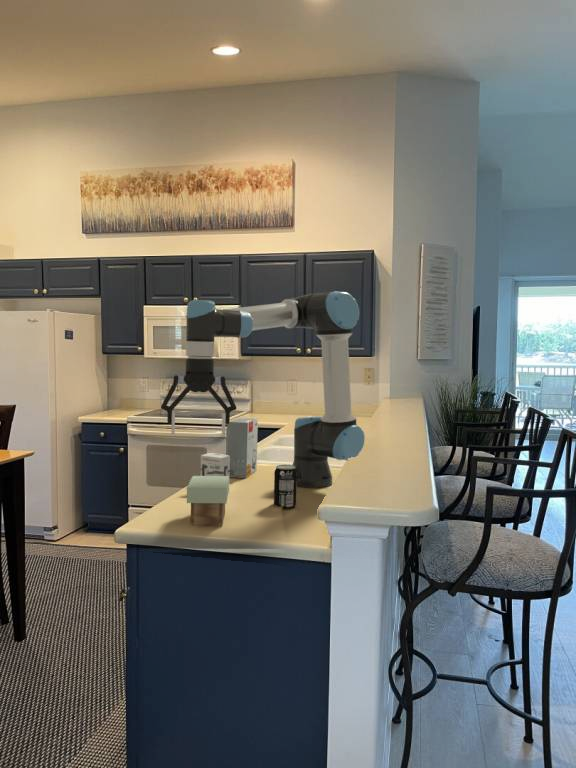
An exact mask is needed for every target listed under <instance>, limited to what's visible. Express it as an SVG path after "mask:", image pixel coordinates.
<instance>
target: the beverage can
mask: <svg viewBox="0 0 576 768" xmlns="http://www.w3.org/2000/svg"><path fill="white" fill-rule="evenodd" d="M295 468H296V467H295V466H293V464H278V465H276V466H275V470H274V473H273V474H274V477H273V478H274V481H273V483H274V485H273V486H274V487H273V506H275V507H279V508H281V510H292V509H295V507H296V506H297V493H298V492H297V489H298V488H297V487H298V486H297V471H296V469H295Z"/></svg>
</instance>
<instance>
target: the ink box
mask: <svg viewBox="0 0 576 768" xmlns="http://www.w3.org/2000/svg"><path fill="white" fill-rule="evenodd" d="M229 473H230V456H229V455H227V454H222V453H214V452H207V453H205V454H200V474H199V476H229Z"/></svg>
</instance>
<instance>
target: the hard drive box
mask: <svg viewBox="0 0 576 768" xmlns="http://www.w3.org/2000/svg"><path fill="white" fill-rule="evenodd" d="M258 421H259V418H254V417H253V418H251V417H238V418H236V419H232V420H230V422H229V424H227V429H226V433H227V434H226V435H227V436H226V455H229V456H230V473H229V478H237V479H238V478H239V479H246V478H248V477H250V476H251V475H252V474H254V473H255V472H257V470H258V469H257V468H258V467H257V465H258V463H257V462H258V433H259V431H258V430H259V428H258V427H259V425H258V424H259V423H258Z"/></svg>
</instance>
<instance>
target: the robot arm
mask: <svg viewBox="0 0 576 768" xmlns="http://www.w3.org/2000/svg"><path fill="white" fill-rule="evenodd" d="M186 306H187V307H186V314H185V316H186V317H185V319H186V325H185V326H186V331H185V332H186V343H185V356H186V357H187V358H186V359H185V374H184V376H183V375H181V376H180V375H178V374H175V375H174V376H173V381H172V384H171V386H170V389H168V392H167V394H166V396H165V398H164V400H163V401H162V404H161V406H160V408H161V410H163V411H166V412H167V425H168V424H171V437H175V432H176V431H175V430H176V428H175V427H176V426H175V423H176V419H175V418H176V411H175V408H176V407H177V406H178V404H180V402H181V401H183V399H184V398H186V395H188V393H190V391H191V392H193V393H198V392H199V393H207V392H209V393H210V395H212V397H213V398H214V399H215V400H216V401H217V403H218V404H219V405H220V407H221V408H222V409H223V410H224V411H222V412H221V415H222V416H221V436H222V437H226V425H228V424H229V422H230V421H231V420H230V418H231V417H230V415H231V412H233V411H236V410H237V405H236V404H235V402H234V400H233V397H232V394H231V393H230V391H229V388H228V387H227V385H226V377H225V376H224V375H221V376H215V375H214V372H215V371H214V369H215V366H214V365H215V361H214V359H213V357H214V356H215V338H237V339H240V338H247V337H249V336H250V334H252V332H253V331H259V330H266V329H272V328H273V329H274V328H280V327H285V328H286V329H297V328H298V329H312V330H315V335H316V337H318V339H319V340H320V341H321V360H322V361H321V363H322V378H323V381H322V382H323V383H322V384H323V399H324V400H323V401H324V405H323V406H324V414H323V415H321V416H318V415H317V416H308V417H307V416H306V417H298V418H296V419H295V421H294V427H293V428H294V429H293V432H294V433H293V443H294V444H293V462H292V465H293V466H295V467H296V468H295V469H296V471H297V487H299V488H323V487H329V486H331V485H332V484H333V476H332V472H331V468H330V465H329V462H328V461H329V459H328V458H331V459H335V460H338V461H349V460H348V458H351V457H355V458H356V456H357V457H358V456H359V455H360V453H361V452H362V450H363V448H364V445H365V440H366V439H365V432H364V430H363V429H362V427H361V426H360V425H357V416H355V414H353V412H352V399H351V398H352V397H351V377H350V376H351V375H350V374H351V373H350V353H349V352H350V351H349V350H350V349H349V338H351V336H352V335H353V328H354V327H355V326H356V325H357V324H358V321H359V320H360V308H359V305H358V302H357V300H356V298H354V297H353V295H352V294H350V293H349V292H346V291H335V290H334V291H330V292H329V291H328V292H318V293H315V292H313V293H309V294H304V295H301V296H297V297H292V298H286V299H283V300H282V301H281V302H278V303H269V304H260V305H251V306H243V307H231V308H225V309H224V308H223V309H218V308H216V303H215V302H214V301H213V300H207V299H206V300H205V299H204V300H203V299H193V300H190V301H188V302H187V305H186ZM182 381H183V382H184V383H185V385H186V387H185V388H184V389H183V391H181V393H180V394H179V395H178V396H177V397H176V398H175V399H174V400H173V401H172V402H171V404H170V405H168V404H169V402H170V400H171V398H172V396H173V395H174V392H175V390H176V388H177V387H178V385H179V384H181V383H182ZM215 382H217V384H218V385H221V389H222V390H223V393H224V396H225V398H226V399H227V401H228V403H229V406H228V405H227V404H226V403H225V402H224V400H223V399H222V398H221V396H219V394H218V393H217V391H215V389H214V388H213V387H212V386H213V384H215ZM173 410H174V411H173Z"/></svg>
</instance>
